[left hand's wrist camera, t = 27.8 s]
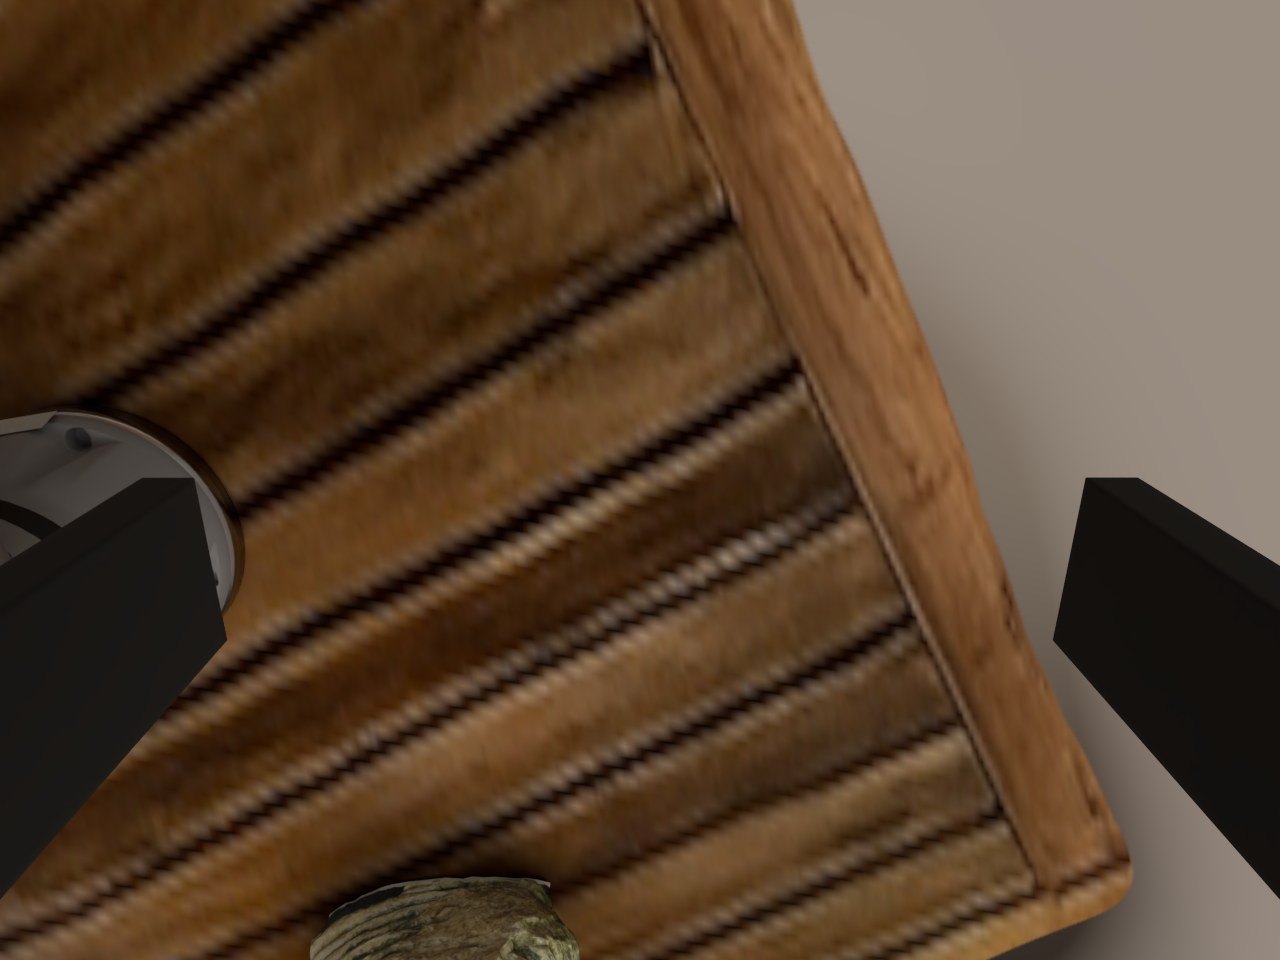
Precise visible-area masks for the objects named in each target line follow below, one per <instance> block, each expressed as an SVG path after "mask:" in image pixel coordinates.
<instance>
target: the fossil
mask: <svg viewBox="0 0 1280 960" xmlns="http://www.w3.org/2000/svg"><path fill="white" fill-rule="evenodd" d="M549 891H550V883H549V882H545V881H541V880H536V879H531V878H505V877H468V878H465V879H459V878H437V879H428V880H418V881H409V882H403V883H398V884H392V885H389V886H385V887H381V888H379V889H377V890H375V891H372V892H370V893H367V894H365V895H362V896H360V897H359V898H358V899H356V900H355V901H352V902H348V903H345V904H344V905H342V906H340V907H339V908H338V909H336V910H335V911H333V912H332V913H331V914H330V915H329V919H328V921H327V923H326V925H325V926H324V928H323V929H322V930H321V932H320V933H319V934H318V935H317V936H316V937H315V938H314V939H313V940H312V942H311V946H310V951H309V953H310V959H311V960H580V958H579V944H578V942H577V940H576V938H575V936H574V934H573V932H572V931H571V930H569V929H568V928H567V927H566V926H565V924H564V923H563V922H562V921H561V920H560V919H559V917H558V915H557V913H556V912H554V911H553V910H552V906H553V905H552V902H551V898H550V895H549Z"/></svg>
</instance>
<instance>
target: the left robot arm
mask: <svg viewBox="0 0 1280 960" xmlns="http://www.w3.org/2000/svg"><path fill="white" fill-rule="evenodd" d="M244 563H245V548H244V539H243V534H242V529H241V525H240V522H239V519H238V516H237V513H236V511H235V508H234V506H233V504H232V502H231V500H230V498H229V496H228V494H227V492H226V491H225V489H224V487H223V486H222V485H221V483H220V482H219V480H218V479H217V477H216V476H215V475H214V474H213V472H212V471H211V470H210V469H209V467H208V466H207V465H206V464H205V463H204V462H203V461H202V460H201V459H200V458H199V457H198V456H197V455H196V454H195V453H194V452H193V451H192V450H190V449H189V448H188V447H187V446H186V445H184V444H183V443H182V442H180V441H179V440H178V439H176V438H175V437H174V436H172V435H170V434H169V433H167V432H166V431H164V430H163V429H161V428H159V427H157V426H155V425H153V424H151V423H149V422H147V421H145V420H142V419H140V418H138V417H135V416H133V415H130V414H127V413H124V412H120V411H116V410H112V409H108V408H103V407H96V406H86V405H64V406H56V407H50V408H45V409H41V410H37V411H35V412H32V413H29V414H26V415H24V416H21V417H17V418H11V419H4V420H0V899H1V898H2V897H3V896H4V894H5V893H6V892H7V891H8V890H9V889H10V888H11V886H12V885H13V884H14V883H15V882H16V881H17V880H18V878H19V877H20V876H21V875H22V874H23V873H24V872H25V870H26V869H27V868H28V867H29V866H30V865H31V864H32V862H33V861H34V860H35V859H36V858H37V857H38V856H39V854H40V853H41V852H42V851H43V850H44V849H45V848H46V846H47V845H48V844H49V843H50V842H51V841H52V840H53V838H54V837H55V836H56V835H57V834H58V833H59V832H60V830H61V829H62V828H63V827H64V826H65V825H66V824H67V822H68V821H69V820H70V819H71V818H72V817H73V816H74V814H75V813H76V812H77V811H78V810H79V809H80V808H81V806H82V805H83V804H84V803H85V802H86V801H87V800H88V798H89V797H90V796H91V795H92V794H93V793H94V792H95V790H96V789H97V788H98V787H99V786H100V785H101V784H102V782H103V781H104V780H105V779H106V778H107V777H108V776H109V774H110V773H111V772H112V771H113V770H114V769H115V768H116V766H117V765H118V764H119V763H120V762H121V761H122V760H123V758H124V757H125V756H126V755H127V754H128V753H129V752H130V751H131V749H132V748H133V747H134V746H135V745H136V744H137V743H138V741H139V740H140V739H141V738H142V737H143V736H144V735H145V733H146V732H147V731H148V730H149V729H150V728H151V727H152V725H153V724H154V723H155V722H156V721H157V720H158V719H159V717H160V716H161V715H162V714H163V713H164V712H165V711H166V709H167V708H168V707H169V706H170V705H171V704H172V703H173V701H174V700H175V699H176V698H177V697H178V696H179V695H180V693H181V692H182V691H183V690H184V689H185V688H186V687H187V685H188V684H189V683H190V682H191V681H192V680H193V679H194V677H195V676H196V675H197V674H198V673H199V672H200V671H201V669H202V668H203V667H204V666H205V665H206V664H207V663H208V661H209V660H210V659H211V658H212V657H213V656H214V655H215V653H216V652H217V651H218V650H219V649H220V648H221V647H222V645H223V644H224V643H225V642H226V641H227V637H226V632H225V627H224V622H223V616H224V614H225V613H226V612H227V610H228V609H229V608H230V606H231V605H232V603H233V601H234V599H235V597H236V595H237V593H238V590H239V587H240V585H241V581H242V577H243V572H244ZM1053 641H1054V642H1055V643H1056V644H1057V645H1058V647H1059V648H1060V649H1061V650H1062V651H1063V652H1064V653H1065V655H1066V656H1067V657H1068V658H1069V659H1070V660H1071V661H1072V662H1073V664H1074V665H1075V666H1076V667H1077V668H1078V669H1079V671H1080V672H1081V673H1082V674H1083V675H1084V676H1085V677H1086V678H1087V680H1088V681H1089V682H1090V683H1091V684H1092V685H1093V687H1094V688H1095V689H1096V690H1097V691H1098V692H1099V693H1100V695H1101V696H1102V697H1103V698H1104V699H1105V700H1106V701H1107V702H1108V704H1109V705H1110V706H1111V707H1112V708H1113V709H1114V711H1115V712H1116V713H1117V714H1118V715H1119V716H1120V717H1121V719H1122V720H1123V721H1124V722H1125V723H1126V724H1127V725H1128V726H1129V728H1130V729H1131V730H1132V731H1133V732H1134V733H1135V734H1136V736H1137V737H1138V738H1139V739H1140V740H1141V741H1142V743H1143V744H1144V745H1145V746H1146V747H1147V748H1148V749H1149V750H1150V752H1151V753H1152V754H1153V755H1154V756H1155V757H1156V758H1157V760H1158V761H1159V762H1160V763H1161V764H1162V765H1163V766H1164V768H1165V769H1166V770H1167V771H1168V772H1169V773H1170V774H1171V776H1172V777H1173V778H1174V779H1175V780H1176V781H1177V782H1178V784H1179V785H1180V786H1181V787H1182V788H1183V789H1184V790H1185V792H1186V793H1187V794H1188V795H1189V796H1190V797H1191V798H1192V800H1193V801H1194V802H1195V803H1196V804H1197V805H1198V806H1199V808H1200V809H1201V810H1202V811H1203V812H1204V813H1205V814H1206V816H1207V817H1208V818H1209V819H1210V820H1211V821H1212V822H1213V824H1214V825H1215V826H1216V827H1217V828H1218V829H1219V830H1220V832H1221V833H1222V834H1223V835H1224V836H1225V837H1226V838H1227V840H1228V841H1229V842H1230V843H1231V844H1232V845H1233V846H1234V848H1235V849H1236V850H1237V851H1238V852H1239V853H1240V854H1241V856H1242V857H1243V858H1244V859H1245V860H1246V861H1247V862H1248V863H1249V865H1250V866H1251V867H1252V868H1253V869H1254V870H1255V872H1256V873H1257V874H1258V875H1259V876H1260V877H1261V878H1262V880H1263V881H1264V882H1265V883H1266V884H1267V885H1268V886H1269V888H1270V889H1271V890H1272V891H1273V892H1274V893H1275V894H1276V896H1277V897H1278V898H1279V899H1280V566H1279V565H1278V564H1276V563H1274V562H1273V561H1271V560H1270V559H1268V558H1266V557H1265V556H1263V555H1262V554H1260V553H1258V552H1257V551H1255V550H1254V549H1252V548H1250V547H1249V546H1247V545H1245V544H1244V543H1242V542H1241V541H1239V540H1237V539H1236V538H1234V537H1233V536H1231V535H1229V534H1228V533H1226V532H1225V531H1223V530H1221V529H1220V528H1218V527H1216V526H1215V525H1213V524H1212V523H1210V522H1208V521H1207V520H1205V519H1204V518H1202V517H1200V516H1199V515H1197V514H1196V513H1194V512H1192V511H1191V510H1189V509H1188V508H1186V507H1184V506H1183V505H1181V504H1179V503H1178V502H1176V501H1175V500H1173V499H1171V498H1170V497H1168V496H1167V495H1165V494H1163V493H1162V492H1160V491H1159V490H1157V489H1155V488H1154V487H1152V486H1150V485H1149V484H1147V483H1146V482H1144V481H1142V480H1141V479H1139V478H1086V479H1085V484H1084V489H1083V494H1082V499H1081V504H1080V509H1079V514H1078V519H1077V523H1076V529H1075V533H1074V538H1073V543H1072V548H1071V553H1070V558H1069V563H1068V568H1067V573H1066V578H1065V583H1064V588H1063V593H1062V598H1061V603H1060V608H1059V613H1058V617H1057V622H1056V627H1055V632H1054V637H1053Z"/></svg>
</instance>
